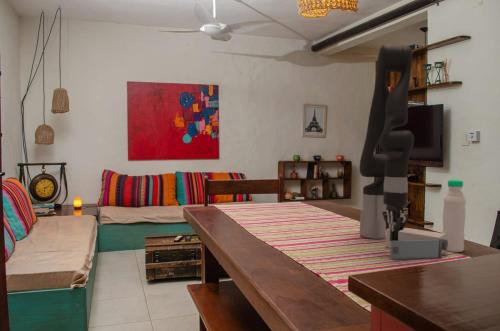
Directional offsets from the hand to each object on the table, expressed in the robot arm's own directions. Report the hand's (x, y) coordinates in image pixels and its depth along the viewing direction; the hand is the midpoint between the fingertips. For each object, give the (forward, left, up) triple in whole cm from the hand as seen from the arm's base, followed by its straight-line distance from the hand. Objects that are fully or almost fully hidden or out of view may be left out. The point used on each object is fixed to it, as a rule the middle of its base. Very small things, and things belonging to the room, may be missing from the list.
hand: (394, 241), depth 135 cm
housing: (+3, +13, -5) cm, 14 cm away
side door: (+7, +2, -4) cm, 8 cm away
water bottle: (+13, +22, -5) cm, 26 cm away
